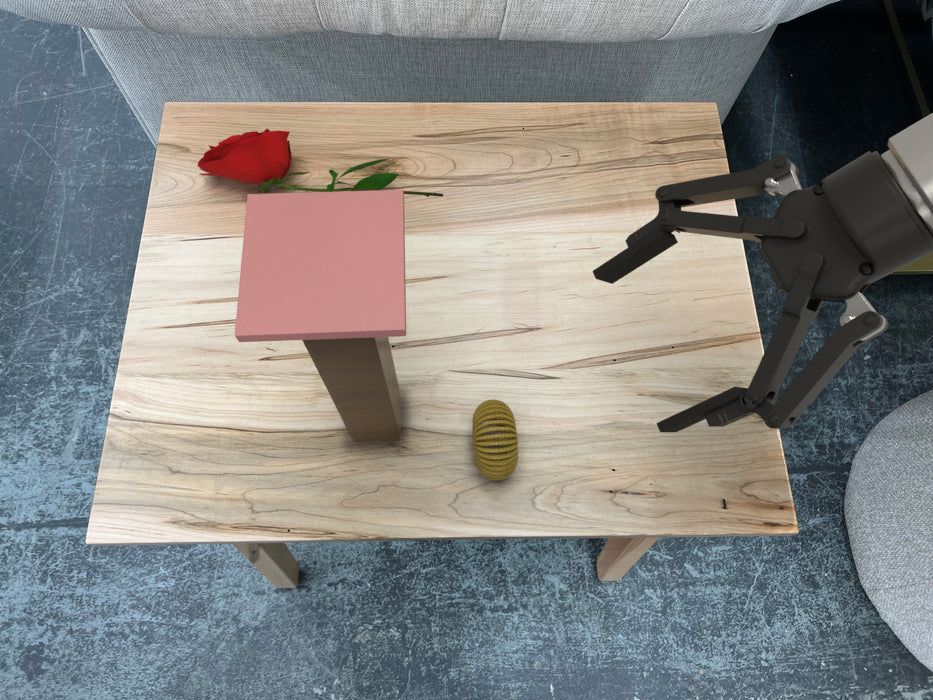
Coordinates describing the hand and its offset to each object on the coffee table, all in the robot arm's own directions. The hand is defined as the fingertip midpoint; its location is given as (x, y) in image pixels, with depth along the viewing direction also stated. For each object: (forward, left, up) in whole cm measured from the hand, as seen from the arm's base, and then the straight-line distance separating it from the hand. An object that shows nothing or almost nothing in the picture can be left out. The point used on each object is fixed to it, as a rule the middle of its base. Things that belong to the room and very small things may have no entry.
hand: (632, 349), depth 55 cm
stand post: (+1, +22, -19) cm, 30 cm away
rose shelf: (+1, +22, +13) cm, 26 cm away
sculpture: (-3, +10, -20) cm, 22 cm away
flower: (+30, +29, -20) cm, 46 cm away
